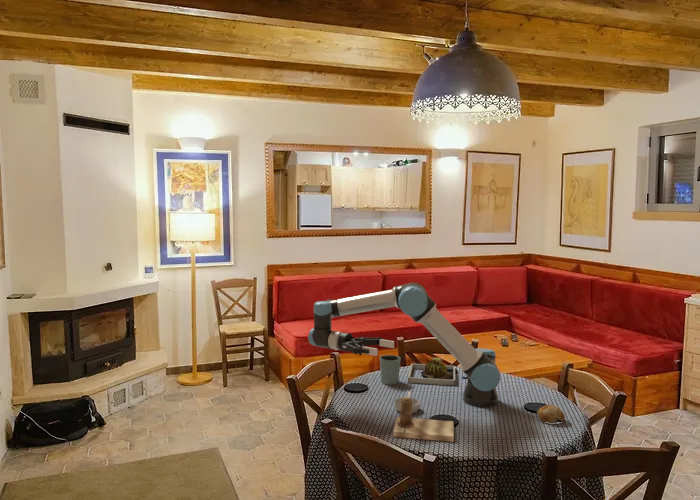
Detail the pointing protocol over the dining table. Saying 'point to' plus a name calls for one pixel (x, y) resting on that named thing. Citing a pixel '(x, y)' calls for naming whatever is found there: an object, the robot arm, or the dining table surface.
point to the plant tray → (429, 380)
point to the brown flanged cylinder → (405, 413)
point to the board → (426, 430)
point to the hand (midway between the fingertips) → (385, 348)
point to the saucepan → (414, 403)
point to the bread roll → (550, 414)
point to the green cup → (389, 369)
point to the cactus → (436, 370)
